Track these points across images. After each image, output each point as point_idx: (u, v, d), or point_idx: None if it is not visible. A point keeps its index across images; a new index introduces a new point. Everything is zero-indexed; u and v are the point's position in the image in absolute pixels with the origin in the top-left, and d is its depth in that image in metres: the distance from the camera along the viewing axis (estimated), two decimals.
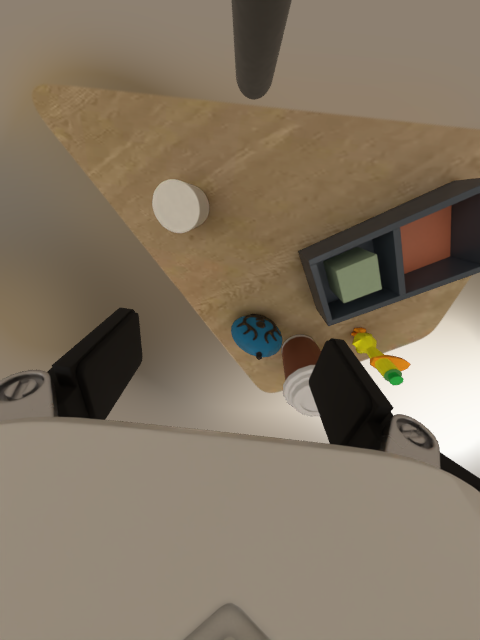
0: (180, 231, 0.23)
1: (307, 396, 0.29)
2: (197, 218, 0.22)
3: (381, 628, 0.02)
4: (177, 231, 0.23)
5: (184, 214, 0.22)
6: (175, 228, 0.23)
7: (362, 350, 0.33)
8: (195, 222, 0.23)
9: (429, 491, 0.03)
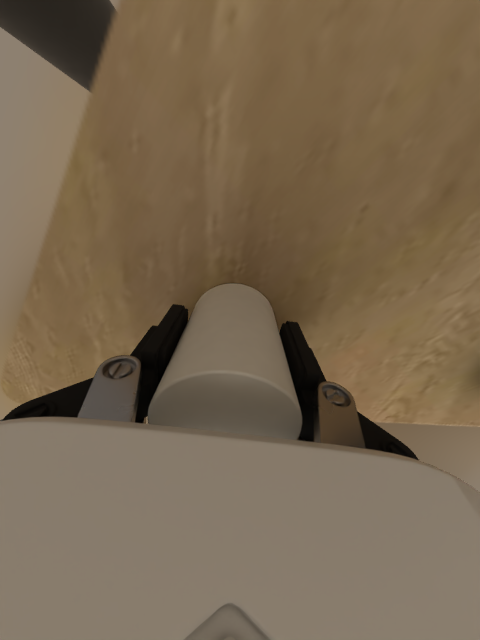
0: None
1: None
2: (293, 404, 0.06)
3: (381, 628, 0.02)
4: None
5: (256, 422, 0.07)
6: None
7: None
8: (297, 414, 0.06)
9: (429, 491, 0.03)
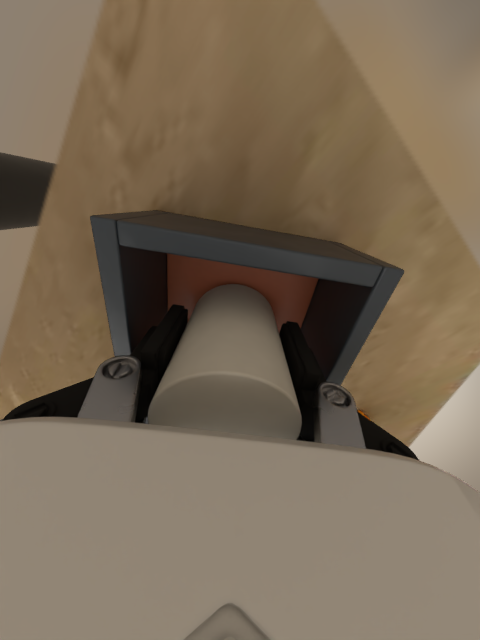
0: None
1: None
2: (292, 405, 0.06)
3: (381, 628, 0.02)
4: None
5: (256, 423, 0.07)
6: None
7: None
8: (296, 414, 0.06)
9: (429, 491, 0.03)
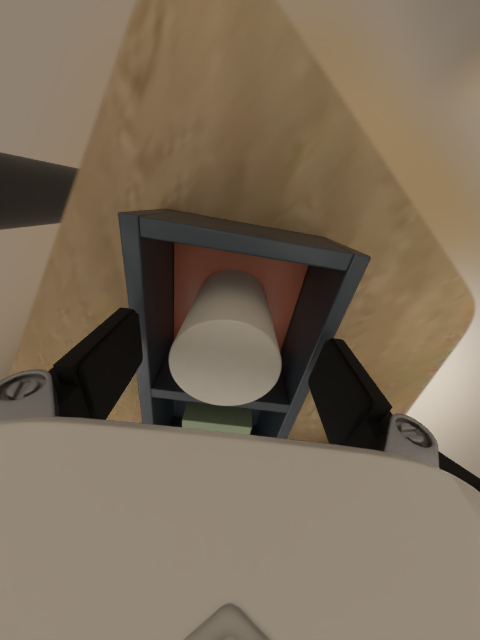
0: (268, 388, 0.10)
1: None
2: (273, 347, 0.09)
3: (381, 628, 0.02)
4: (264, 392, 0.10)
5: (247, 363, 0.09)
6: (257, 392, 0.10)
7: None
8: (277, 355, 0.09)
9: (429, 491, 0.03)
